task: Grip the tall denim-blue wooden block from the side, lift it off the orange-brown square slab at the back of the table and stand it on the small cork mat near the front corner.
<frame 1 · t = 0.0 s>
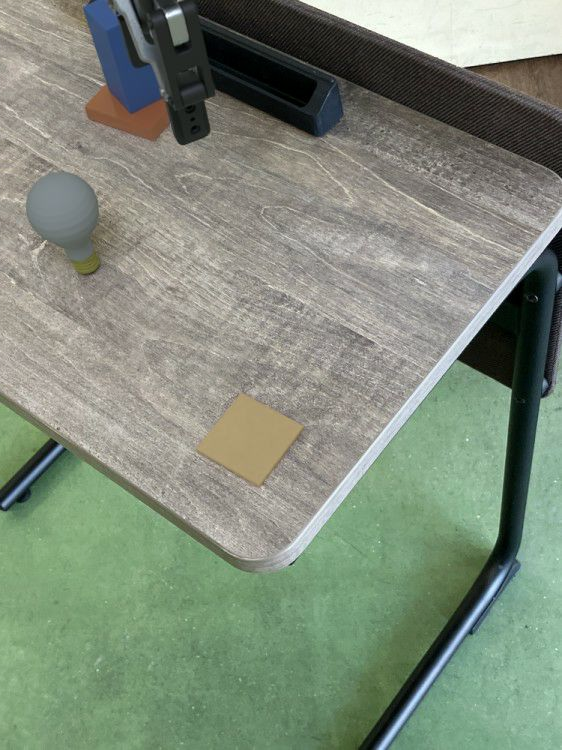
hand: (169, 98, 61), 19 cm above the table, tool pointing down, fingers open, 8 cm apart
block: (140, 92, 89), point 1 cm above the table, touching orange-brown square slab
mat: (250, 440, 69), on the table
light bulb: (89, 270, 79), on the table
orange-brown square slab: (143, 104, 90), on the table
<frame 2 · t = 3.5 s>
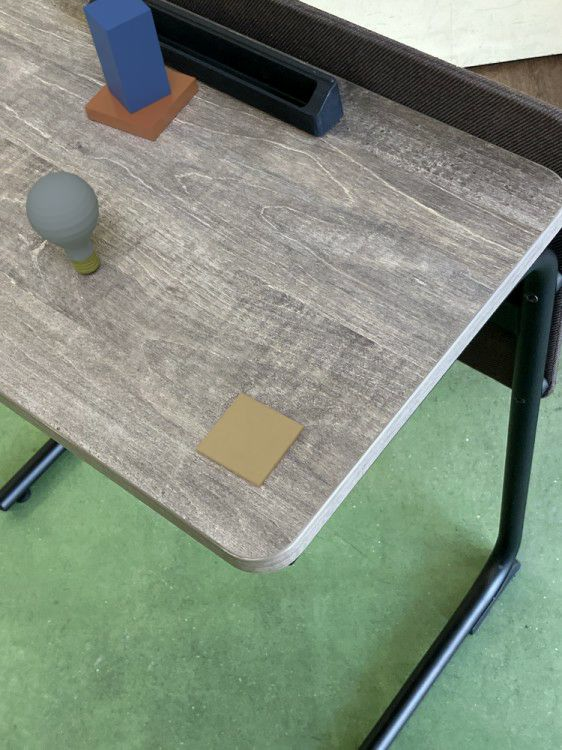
nothing on the table moved.
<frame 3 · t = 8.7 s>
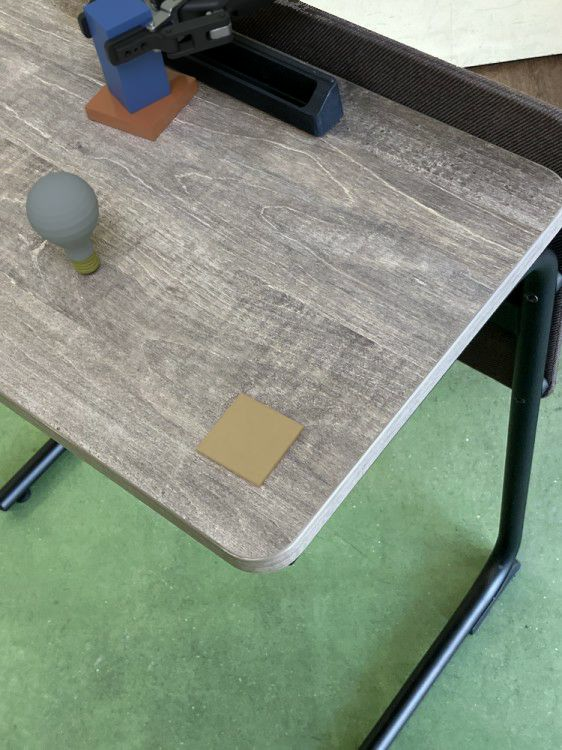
hand: (95, 41, 83), 9 cm above the table, tool horizontal, fingers closed on block, 4 cm apart
block: (140, 92, 89), point 2 cm above the table, touching gripper, orange-brown square slab
everything else where it was.
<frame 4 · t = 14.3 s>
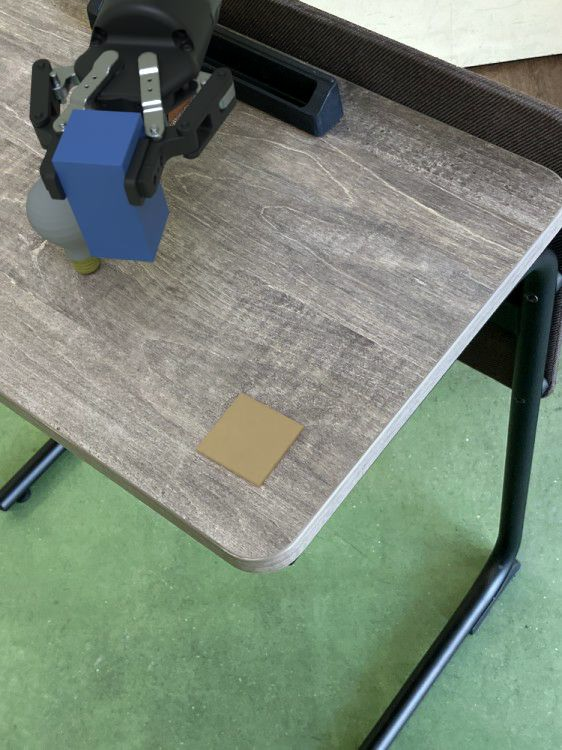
hand: (93, 192, 57), 19 cm above the table, tool horizontal, fingers closed on block, 4 cm apart
block: (131, 234, 65), point 12 cm above the table, touching gripper
everything else where it was.
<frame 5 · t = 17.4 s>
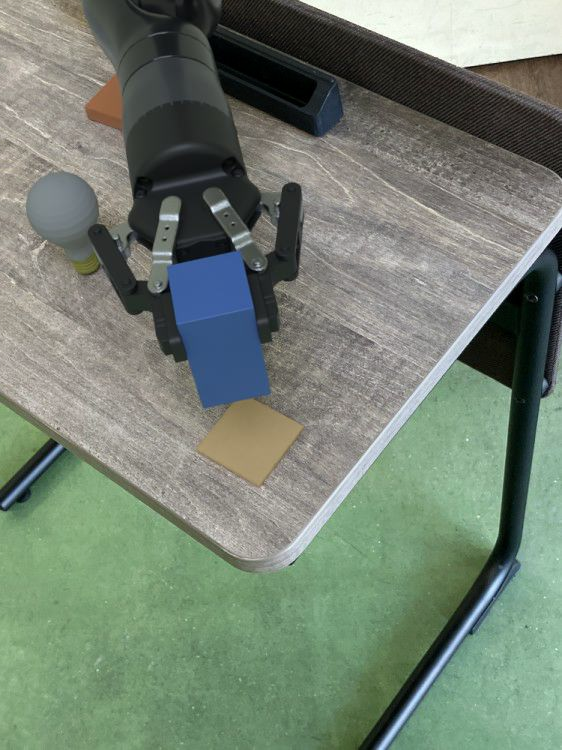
hand: (222, 343, 54), 15 cm above the table, tool horizontal, fingers closed on block, 4 cm apart
block: (231, 373, 62), point 9 cm above the table, touching gripper
everything else where it was.
when the fingers open (7 cm above the table, at t = 20.0 s): block stays where it is, resting on mat.
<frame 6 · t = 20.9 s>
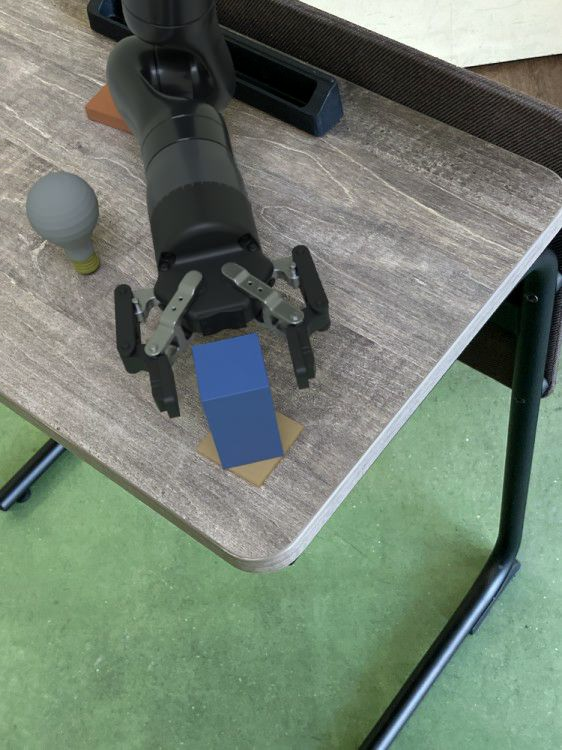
hand: (238, 396, 61), 8 cm above the table, tool horizontal, fingers open, 8 cm apart
block: (248, 436, 68), resting on mat
everything else where it was.
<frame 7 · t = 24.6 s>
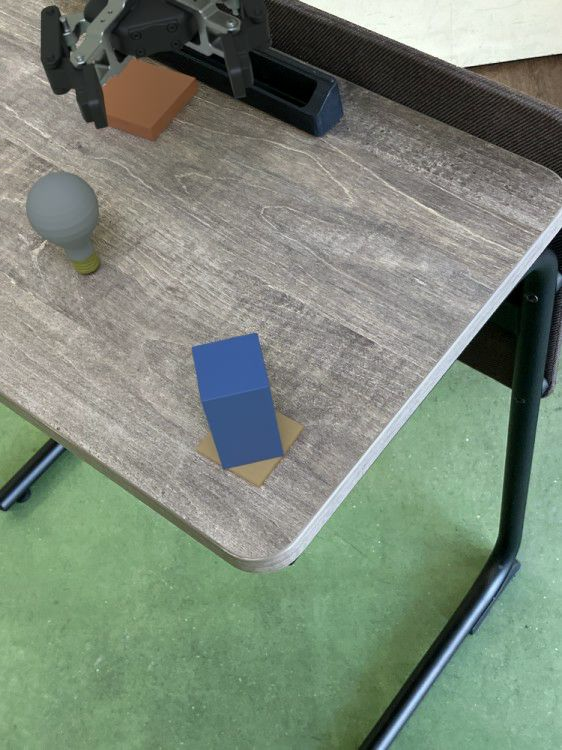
hand: (169, 101, 57), 22 cm above the table, tool horizontal, fingers open, 8 cm apart
nothing on the table moved.
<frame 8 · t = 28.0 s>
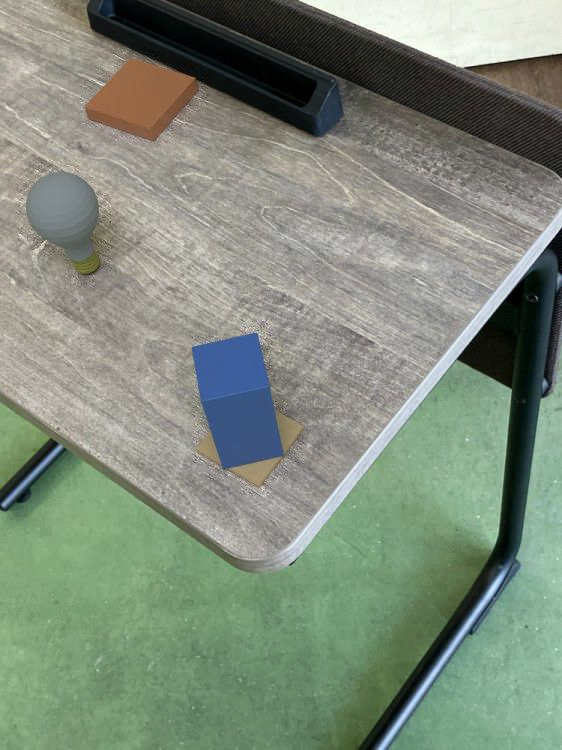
nothing on the table moved.
at the end: block 0.1 cm off-centre on the mat, point 0.4 cm above the mat's base; block touching mat; block tilted 0° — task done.
